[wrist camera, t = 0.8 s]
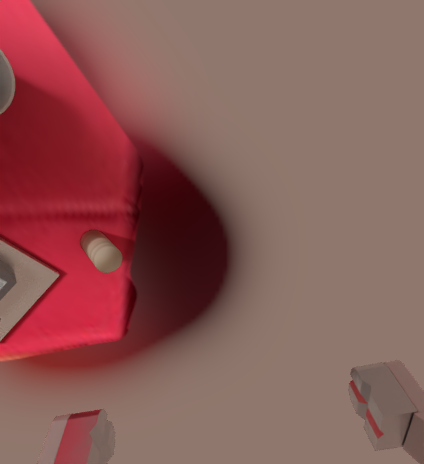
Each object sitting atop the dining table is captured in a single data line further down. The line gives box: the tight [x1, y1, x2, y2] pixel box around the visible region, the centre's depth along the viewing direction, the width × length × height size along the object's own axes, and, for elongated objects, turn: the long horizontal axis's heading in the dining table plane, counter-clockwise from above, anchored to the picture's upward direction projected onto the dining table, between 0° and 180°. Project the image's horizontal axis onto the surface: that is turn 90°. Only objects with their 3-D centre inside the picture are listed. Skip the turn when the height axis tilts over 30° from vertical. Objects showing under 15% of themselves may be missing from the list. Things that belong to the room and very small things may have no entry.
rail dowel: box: [80, 230, 122, 273], centre depth 49 cm, size 4×4×8 cm
